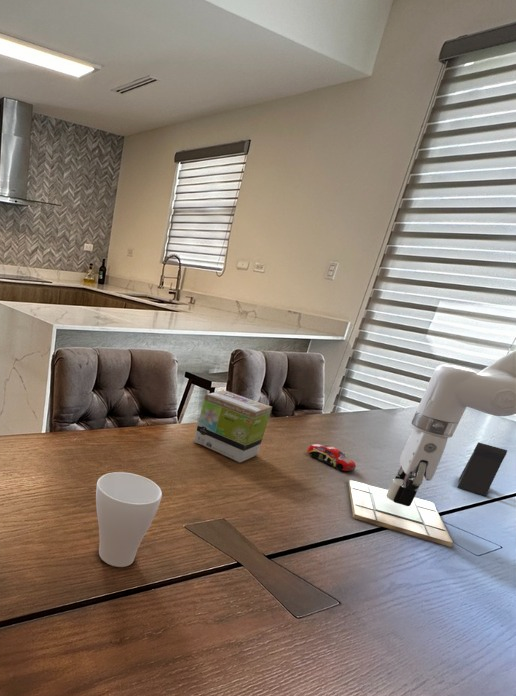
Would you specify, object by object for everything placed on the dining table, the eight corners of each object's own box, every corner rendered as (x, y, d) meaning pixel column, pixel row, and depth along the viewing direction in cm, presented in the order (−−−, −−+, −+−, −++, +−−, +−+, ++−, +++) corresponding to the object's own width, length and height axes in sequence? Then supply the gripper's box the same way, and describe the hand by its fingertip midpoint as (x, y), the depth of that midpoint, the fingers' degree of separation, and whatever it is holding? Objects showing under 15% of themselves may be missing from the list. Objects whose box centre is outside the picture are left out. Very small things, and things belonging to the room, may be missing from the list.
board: (431, 506, 113) (433, 501, 112) (451, 547, 96) (454, 542, 96) (348, 483, 120) (349, 479, 119) (353, 518, 103) (355, 513, 102)
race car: (358, 472, 127) (363, 459, 126) (345, 474, 125) (350, 461, 123) (316, 451, 138) (320, 439, 136) (303, 453, 135) (308, 440, 134)
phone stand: (459, 478, 132) (478, 438, 127) (486, 486, 128) (507, 446, 124) (456, 487, 125) (477, 446, 121) (485, 496, 122) (507, 455, 117)
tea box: (192, 442, 133) (204, 393, 127) (210, 436, 139) (223, 388, 134) (240, 463, 123) (256, 411, 117) (258, 455, 130) (273, 405, 124)
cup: (155, 575, 77) (172, 505, 71) (93, 577, 75) (105, 504, 69) (136, 537, 86) (150, 472, 81) (80, 537, 84) (90, 471, 79)
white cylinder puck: (409, 498, 108) (416, 483, 106) (413, 507, 104) (420, 491, 102) (384, 491, 110) (391, 476, 108) (387, 500, 106) (394, 484, 104)
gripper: (465, 441, 91) (425, 521, 98) (445, 418, 105) (412, 489, 112) (420, 431, 94) (385, 509, 101) (406, 409, 108) (376, 479, 115)
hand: (399, 497), depth 107 cm, fingers closed on white cylinder puck, 5 cm apart
